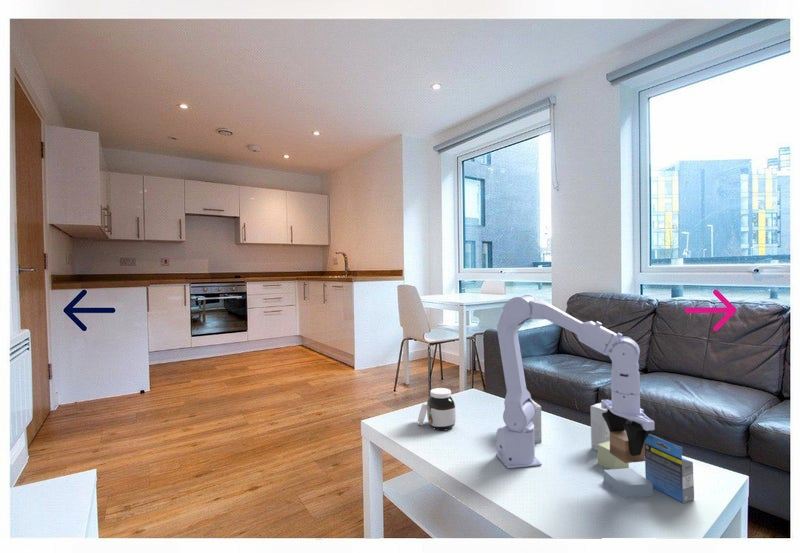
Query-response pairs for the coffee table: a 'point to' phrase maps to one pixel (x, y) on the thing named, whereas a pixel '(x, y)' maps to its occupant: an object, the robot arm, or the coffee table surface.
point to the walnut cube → (623, 448)
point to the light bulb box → (537, 424)
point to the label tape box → (668, 469)
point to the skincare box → (598, 426)
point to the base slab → (628, 483)
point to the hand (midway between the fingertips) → (626, 449)
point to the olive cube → (609, 457)
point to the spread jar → (439, 409)
